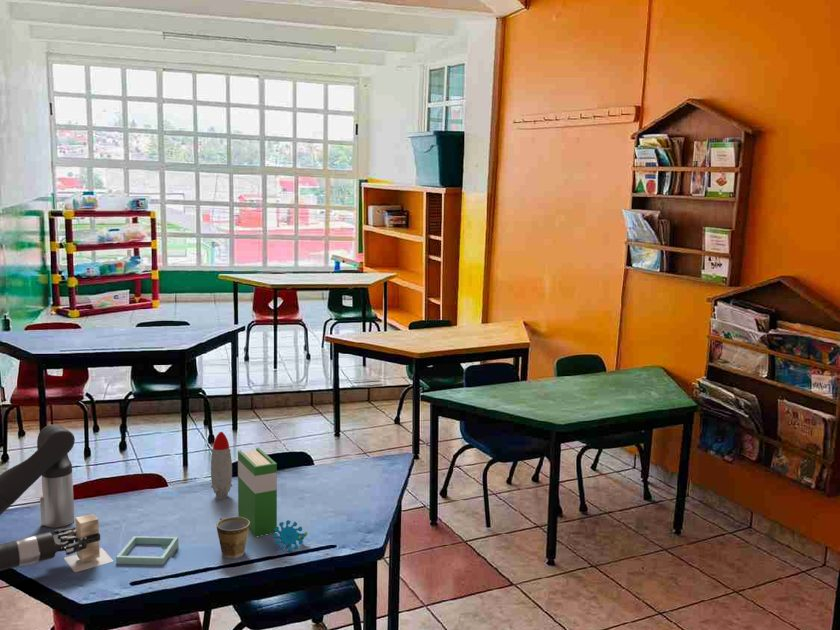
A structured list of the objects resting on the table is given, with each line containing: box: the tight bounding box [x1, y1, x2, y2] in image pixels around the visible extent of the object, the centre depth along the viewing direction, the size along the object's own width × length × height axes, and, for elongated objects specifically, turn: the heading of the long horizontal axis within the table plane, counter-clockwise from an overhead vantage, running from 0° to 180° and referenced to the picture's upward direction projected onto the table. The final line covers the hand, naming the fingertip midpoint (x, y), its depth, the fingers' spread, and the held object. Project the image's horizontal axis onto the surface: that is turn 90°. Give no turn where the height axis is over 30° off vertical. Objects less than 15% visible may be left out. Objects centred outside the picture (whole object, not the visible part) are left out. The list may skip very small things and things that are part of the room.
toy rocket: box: [210, 431, 233, 500], centre depth 272 cm, size 8×8×25 cm
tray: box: [115, 535, 179, 566], centre depth 226 cm, size 14×14×4 cm
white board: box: [63, 547, 114, 573], centre depth 221 cm, size 11×11×2 cm
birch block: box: [74, 513, 100, 562], centre depth 219 cm, size 5×5×12 cm
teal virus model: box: [272, 519, 309, 552], centre depth 237 cm, size 11×6×10 cm
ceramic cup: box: [216, 516, 250, 559], centre depth 231 cm, size 13×10×10 cm
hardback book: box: [237, 447, 278, 538], centre depth 249 cm, size 18×7×24 cm, turn 31°
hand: (96, 533), depth 221 cm, fingers closed on birch block, 5 cm apart
